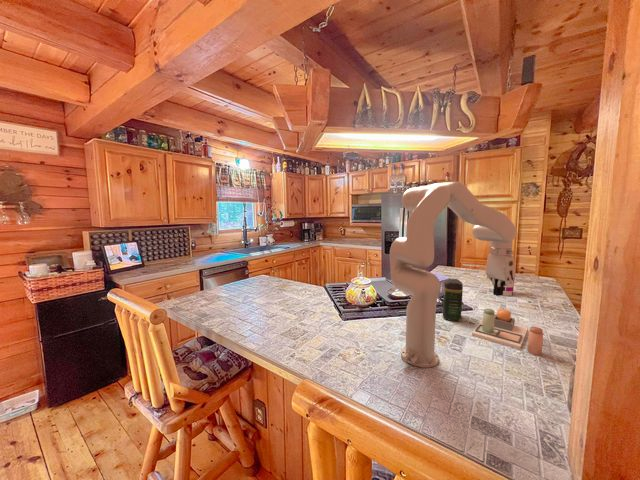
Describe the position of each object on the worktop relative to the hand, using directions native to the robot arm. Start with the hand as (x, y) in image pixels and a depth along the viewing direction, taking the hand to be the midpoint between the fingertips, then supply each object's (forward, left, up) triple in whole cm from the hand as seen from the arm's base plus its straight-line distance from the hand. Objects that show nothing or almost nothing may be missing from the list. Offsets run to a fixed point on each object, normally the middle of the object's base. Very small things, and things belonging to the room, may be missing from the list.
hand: (498, 294), depth 110 cm
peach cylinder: (-10, -14, -16) cm, 23 cm away
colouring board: (-1, -2, -16) cm, 16 cm away
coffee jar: (+2, +18, -16) cm, 25 cm away
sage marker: (-5, +2, -15) cm, 16 cm away
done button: (+5, -2, -12) cm, 13 cm away
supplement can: (+57, +6, -16) cm, 60 cm away
